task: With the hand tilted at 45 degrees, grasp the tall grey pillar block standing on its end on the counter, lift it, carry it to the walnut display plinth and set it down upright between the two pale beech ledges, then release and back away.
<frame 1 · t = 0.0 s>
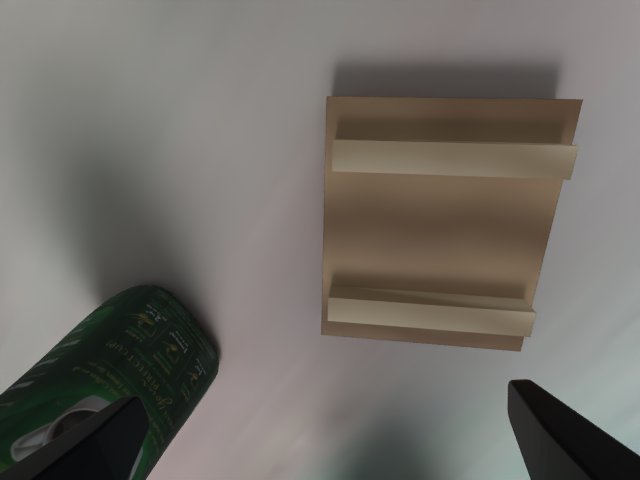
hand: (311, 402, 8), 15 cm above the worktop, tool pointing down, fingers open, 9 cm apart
display plinth: (424, 222, 21), on the worktop
coffee jar: (165, 337, 27), on the worktop
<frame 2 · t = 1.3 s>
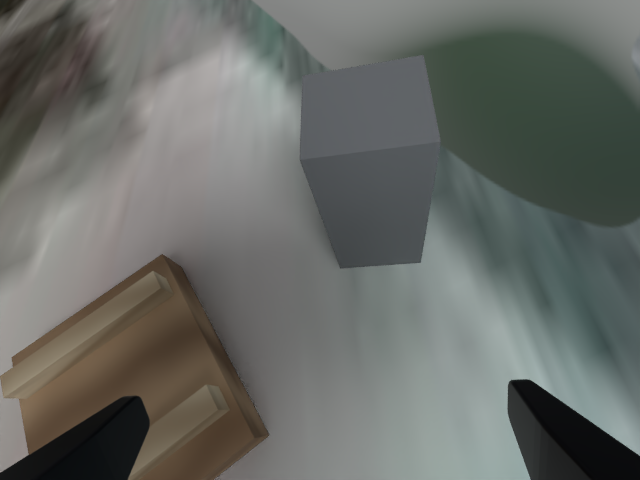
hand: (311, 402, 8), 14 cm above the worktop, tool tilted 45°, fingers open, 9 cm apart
display plinth: (144, 394, 23), on the worktop
tall grey pillar block: (377, 233, 25), on the worktop
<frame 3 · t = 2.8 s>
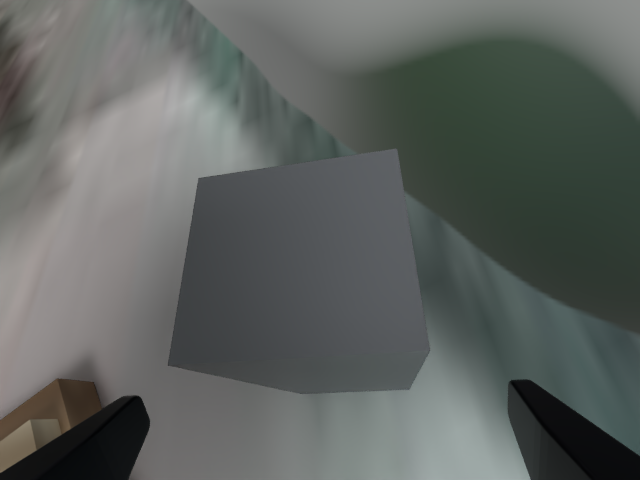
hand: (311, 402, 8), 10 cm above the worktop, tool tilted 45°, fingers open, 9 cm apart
tall grey pillar block: (350, 341, 19), on the worktop
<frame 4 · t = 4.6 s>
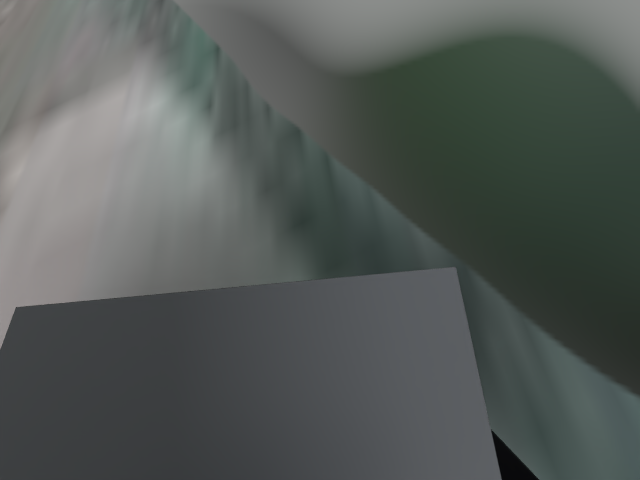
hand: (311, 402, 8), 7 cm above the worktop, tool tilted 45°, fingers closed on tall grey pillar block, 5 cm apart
tall grey pillar block: (348, 445, 14), on the worktop, touching gripper
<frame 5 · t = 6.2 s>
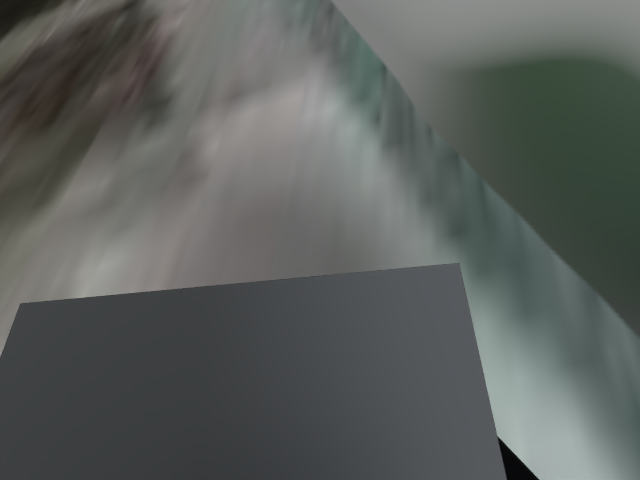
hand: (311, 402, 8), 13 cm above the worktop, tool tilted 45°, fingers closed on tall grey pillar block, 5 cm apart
tall grey pillar block: (348, 443, 14), point 7 cm above the worktop, touching gripper
when the fingers open (10 cm above the worktop, at t = 8.2 s): tall grey pillar block stays where it is, resting on display plinth.
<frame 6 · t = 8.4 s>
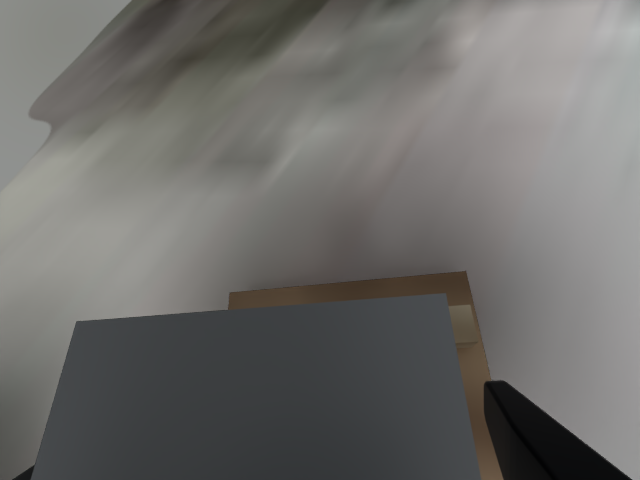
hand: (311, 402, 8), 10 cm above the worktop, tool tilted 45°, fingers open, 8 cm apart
display plinth: (356, 438, 17), on the worktop
tall grey pillar block: (351, 442, 14), point 2 cm above the worktop, touching display plinth
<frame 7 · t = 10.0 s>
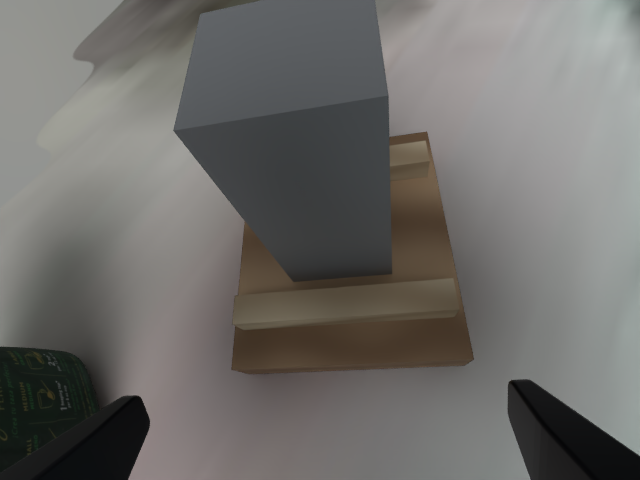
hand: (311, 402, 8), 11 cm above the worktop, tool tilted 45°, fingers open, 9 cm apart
display plinth: (345, 254, 22), on the worktop
tall grey pillar block: (339, 237, 20), point 2 cm above the worktop, touching display plinth
coffee jar: (51, 441, 21), on the worktop
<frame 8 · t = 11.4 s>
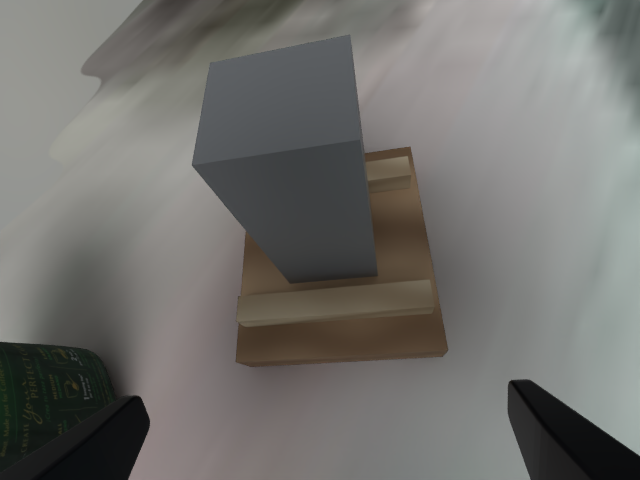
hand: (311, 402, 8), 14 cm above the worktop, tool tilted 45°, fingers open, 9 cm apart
display plinth: (337, 258, 25), on the worktop
tall grey pillar block: (331, 243, 23), point 2 cm above the worktop, touching display plinth
coffee jar: (72, 429, 23), on the worktop
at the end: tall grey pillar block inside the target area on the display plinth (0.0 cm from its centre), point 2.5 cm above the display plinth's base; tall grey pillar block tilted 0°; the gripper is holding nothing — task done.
